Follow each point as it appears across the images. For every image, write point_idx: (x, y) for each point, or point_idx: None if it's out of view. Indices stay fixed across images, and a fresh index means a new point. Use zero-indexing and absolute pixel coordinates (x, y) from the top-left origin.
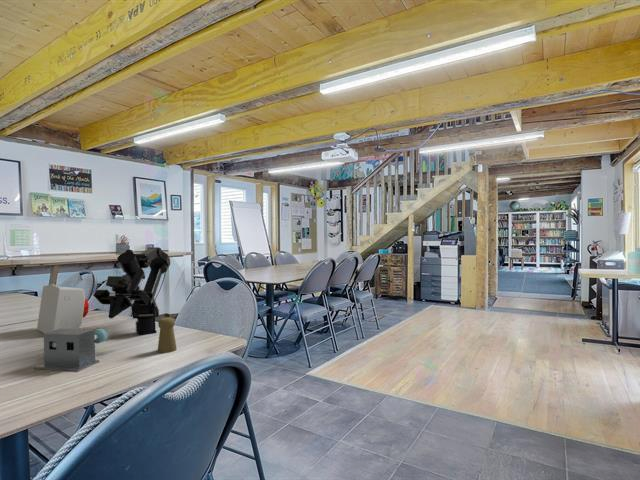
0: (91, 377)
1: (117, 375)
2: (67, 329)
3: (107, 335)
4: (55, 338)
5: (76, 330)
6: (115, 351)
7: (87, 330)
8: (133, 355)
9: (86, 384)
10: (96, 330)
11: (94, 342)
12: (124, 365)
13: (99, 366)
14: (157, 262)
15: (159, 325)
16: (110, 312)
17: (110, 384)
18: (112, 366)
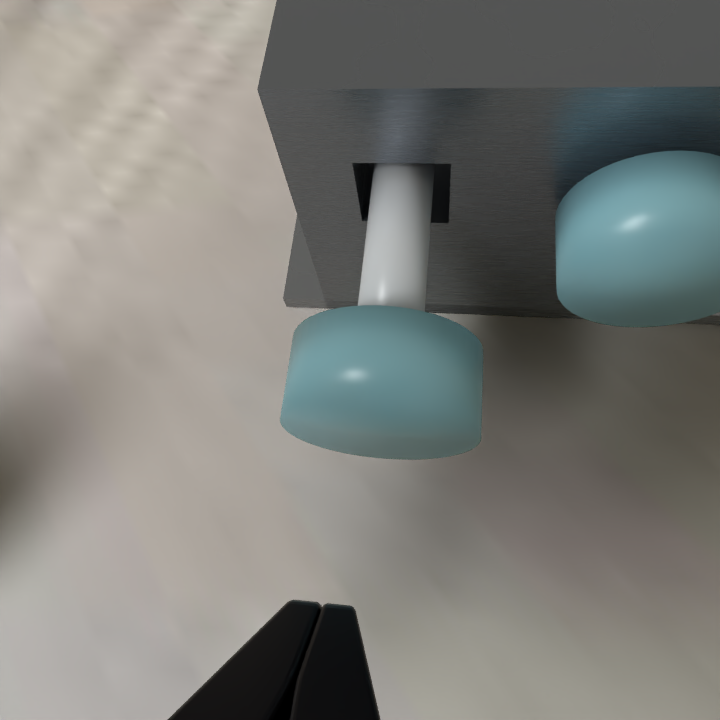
0: (164, 72)
1: (22, 111)
2: (681, 54)
3: (282, 424)
4: None
5: (486, 32)
6: None
7: (325, 48)
8: (66, 488)
9: (136, 3)
10: (388, 311)
11: (293, 200)
12: (46, 257)
13: (225, 224)
14: None
15: None
16: (315, 685)
17: (10, 18)
18: (127, 232)
